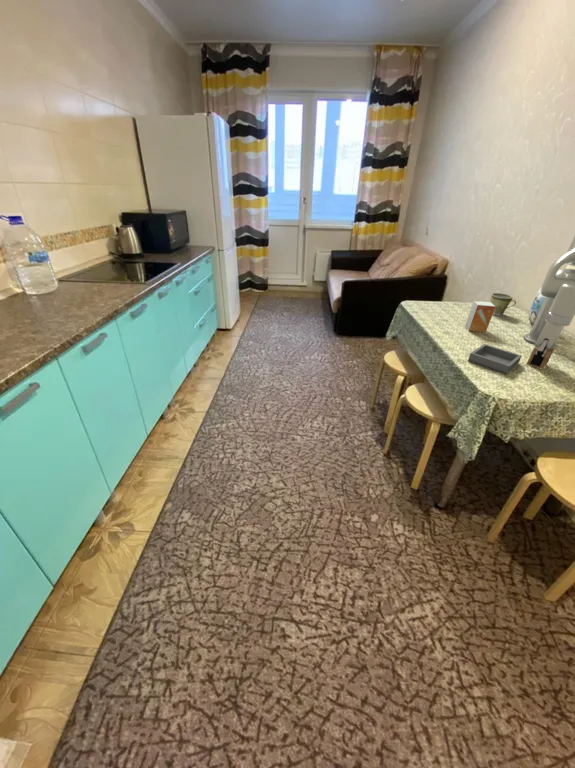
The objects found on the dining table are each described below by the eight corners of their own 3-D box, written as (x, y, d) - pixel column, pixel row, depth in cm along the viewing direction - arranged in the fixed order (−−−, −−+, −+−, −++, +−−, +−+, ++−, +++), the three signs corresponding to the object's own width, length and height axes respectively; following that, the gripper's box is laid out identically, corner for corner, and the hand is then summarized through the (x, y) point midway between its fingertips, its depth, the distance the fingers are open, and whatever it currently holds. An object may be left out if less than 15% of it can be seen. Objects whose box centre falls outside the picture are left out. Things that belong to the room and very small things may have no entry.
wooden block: (530, 359, 133) (538, 344, 129) (546, 364, 129) (554, 348, 126) (526, 364, 130) (533, 347, 126) (542, 369, 126) (550, 352, 122)
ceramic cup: (481, 311, 183) (487, 294, 178) (492, 309, 187) (499, 292, 182) (503, 319, 173) (511, 301, 168) (515, 316, 178) (522, 298, 172)
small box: (468, 331, 158) (477, 304, 151) (464, 326, 163) (473, 300, 156) (486, 332, 157) (496, 306, 150) (481, 327, 162) (491, 302, 155)
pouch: (539, 323, 170) (557, 284, 160) (546, 335, 156) (566, 293, 145) (522, 320, 173) (538, 282, 163) (526, 332, 158) (545, 291, 148)
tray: (481, 351, 138) (484, 343, 136) (518, 363, 130) (521, 355, 128) (467, 361, 130) (470, 353, 128) (505, 374, 121) (509, 366, 120)
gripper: (552, 311, 127) (533, 353, 136) (540, 320, 117) (519, 365, 126) (576, 316, 122) (554, 359, 132) (565, 327, 112) (542, 373, 122)
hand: (537, 362), depth 129 cm, fingers closed on wooden block, 5 cm apart
